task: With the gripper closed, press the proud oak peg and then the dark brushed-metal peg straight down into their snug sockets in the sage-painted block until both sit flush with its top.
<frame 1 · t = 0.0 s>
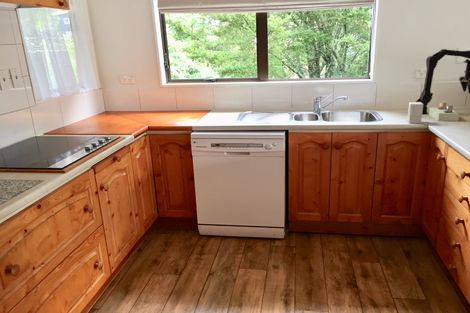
hand: (467, 92, 253), 15 cm above the countertop, fingers open, 9 cm apart
socket block: (442, 117, 247), on the countertop
supplement box: (413, 122, 237), on the countertop
oak peg: (442, 106, 250), point 7 cm above the countertop, slide at 4.0 cm
steel peg: (449, 109, 239), point 7 cm above the countertop, slide at 4.0 cm
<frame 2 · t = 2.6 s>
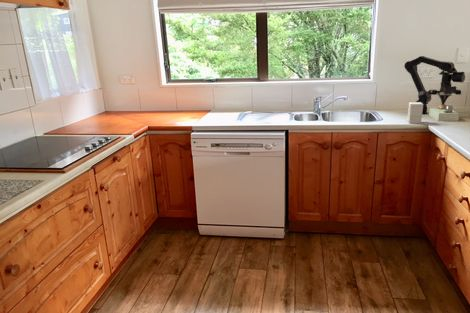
hand: (442, 104, 250), 8 cm above the countertop, fingers closed, pressing on oak peg
oak peg: (442, 108, 250), point 5 cm above the countertop, slide at 2.8 cm, touching gripper
everything else where it was.
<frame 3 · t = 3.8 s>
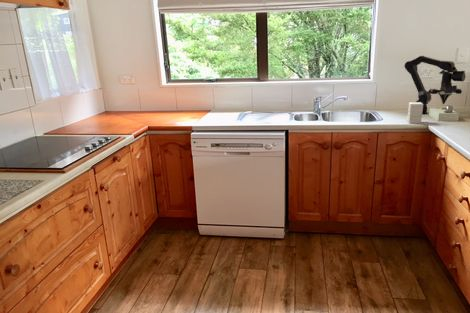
hand: (443, 103, 249), 8 cm above the countertop, fingers closed
oak peg: (441, 111, 251), point 3 cm above the countertop, slide at 0.4 cm
everything else where it was.
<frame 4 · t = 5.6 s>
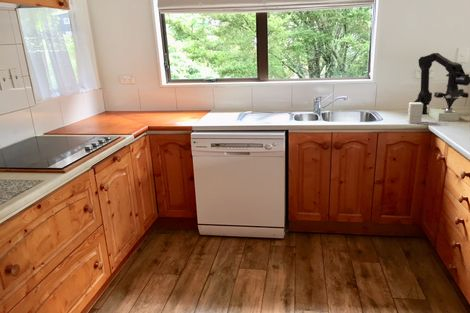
hand: (449, 108, 239), 8 cm above the countertop, fingers closed, pressing on steel peg
steel peg: (448, 111, 239), point 5 cm above the countertop, slide at 2.6 cm, touching gripper
everything else where it was.
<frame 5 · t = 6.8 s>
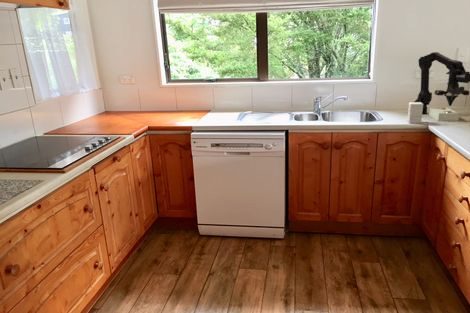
hand: (449, 105, 238), 9 cm above the countertop, fingers closed
steel peg: (448, 115, 240), point 3 cm above the countertop, slide at 0.4 cm
everything else where it was.
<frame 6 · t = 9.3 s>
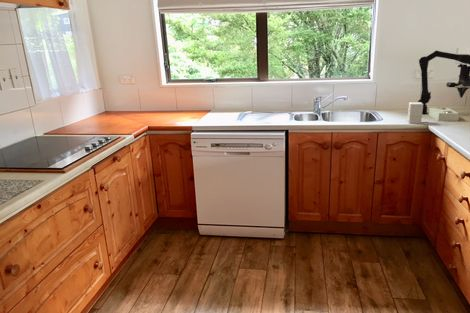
hand: (461, 97, 247), 12 cm above the countertop, fingers closed
nothing on the countertop moved.
at the end: oak peg slide at 0.4 cm; steel peg slide at 0.4 cm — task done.
